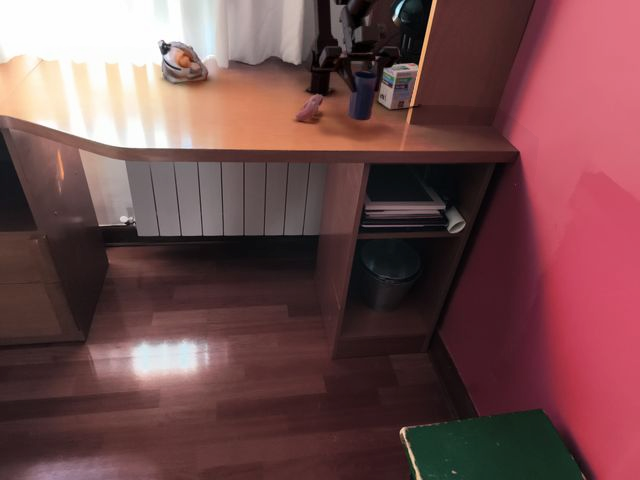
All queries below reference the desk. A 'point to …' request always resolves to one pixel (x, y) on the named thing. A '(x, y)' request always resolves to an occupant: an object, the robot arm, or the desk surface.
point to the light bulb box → (398, 85)
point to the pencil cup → (362, 95)
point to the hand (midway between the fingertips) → (365, 91)
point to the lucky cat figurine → (181, 62)
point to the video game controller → (310, 108)
